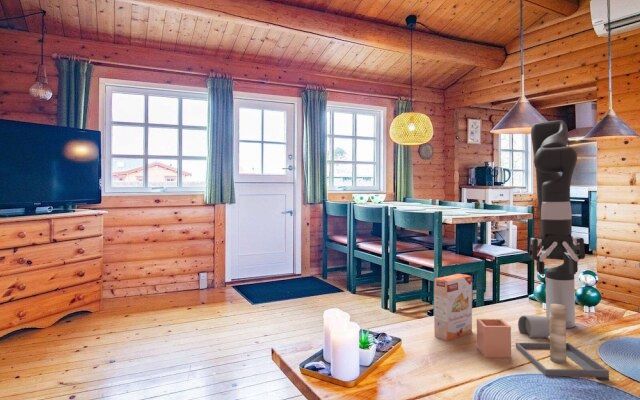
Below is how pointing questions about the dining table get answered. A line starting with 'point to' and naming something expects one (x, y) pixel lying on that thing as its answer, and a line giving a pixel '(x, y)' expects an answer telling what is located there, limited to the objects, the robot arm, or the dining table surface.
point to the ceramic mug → (534, 326)
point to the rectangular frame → (575, 355)
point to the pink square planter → (494, 338)
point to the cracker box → (452, 306)
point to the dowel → (558, 333)
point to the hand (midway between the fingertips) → (556, 274)
